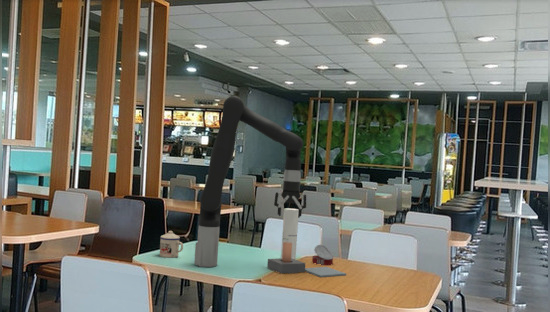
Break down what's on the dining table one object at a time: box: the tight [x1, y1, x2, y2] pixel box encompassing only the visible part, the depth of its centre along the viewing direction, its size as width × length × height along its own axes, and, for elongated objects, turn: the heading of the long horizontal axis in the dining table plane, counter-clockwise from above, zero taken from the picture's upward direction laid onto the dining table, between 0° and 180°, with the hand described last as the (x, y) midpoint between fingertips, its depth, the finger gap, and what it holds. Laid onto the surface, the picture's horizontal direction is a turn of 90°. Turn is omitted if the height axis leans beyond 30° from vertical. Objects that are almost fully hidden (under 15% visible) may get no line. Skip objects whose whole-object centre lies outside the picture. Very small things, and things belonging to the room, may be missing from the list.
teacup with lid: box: [159, 230, 184, 259], centre depth 237 cm, size 12×9×12 cm
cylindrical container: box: [280, 207, 299, 260], centre depth 245 cm, size 7×7×25 cm
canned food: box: [311, 244, 334, 266], centre depth 245 cm, size 11×10×10 cm
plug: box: [282, 242, 292, 262], centre depth 223 cm, size 4×4×12 cm
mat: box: [305, 266, 347, 278], centre depth 223 cm, size 14×14×1 cm
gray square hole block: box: [266, 257, 306, 275], centre depth 223 cm, size 12×12×4 cm
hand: (289, 216), depth 225 cm, fingers open, 8 cm apart
